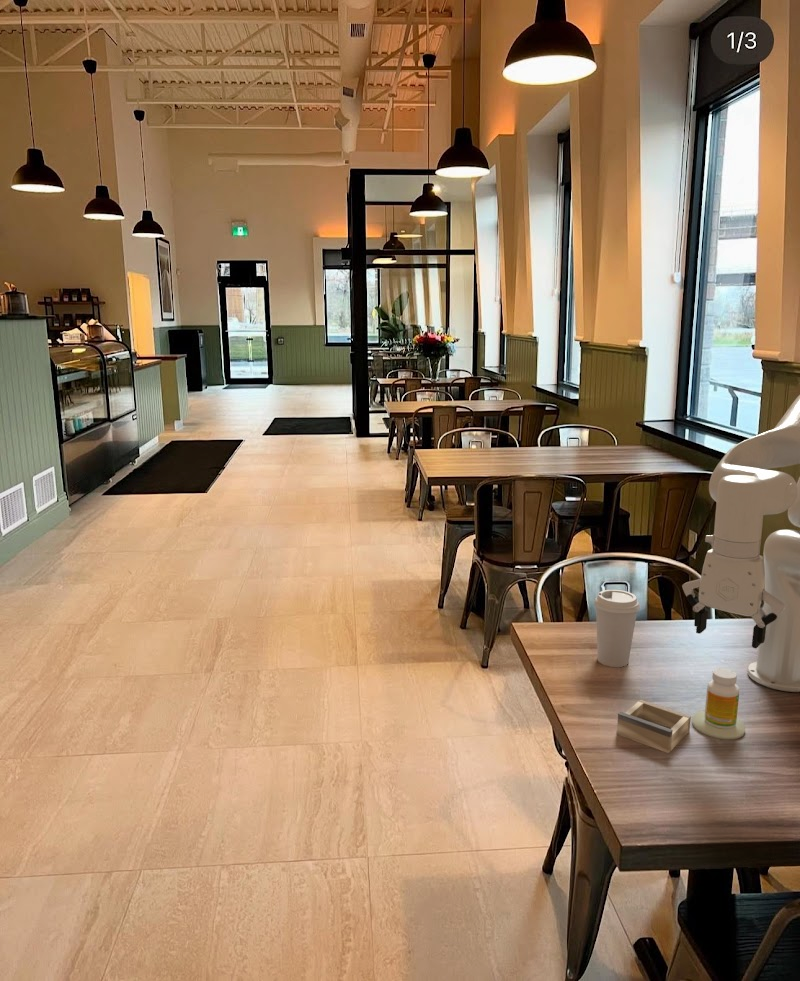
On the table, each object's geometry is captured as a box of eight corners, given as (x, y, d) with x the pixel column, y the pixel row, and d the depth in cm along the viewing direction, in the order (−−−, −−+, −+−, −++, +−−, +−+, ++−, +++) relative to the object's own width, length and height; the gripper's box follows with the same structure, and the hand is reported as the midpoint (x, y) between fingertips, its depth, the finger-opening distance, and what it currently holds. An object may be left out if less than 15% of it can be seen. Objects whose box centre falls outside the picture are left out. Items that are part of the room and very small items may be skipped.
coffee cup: (601, 647, 173) (605, 585, 170) (642, 659, 167) (647, 594, 164) (582, 662, 166) (586, 596, 163) (624, 674, 160) (629, 607, 157)
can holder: (639, 714, 144) (640, 694, 143) (689, 731, 138) (691, 711, 137) (616, 734, 137) (618, 713, 136) (668, 753, 131) (670, 732, 130)
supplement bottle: (739, 731, 137) (744, 681, 135) (707, 728, 138) (712, 678, 136) (732, 716, 142) (737, 668, 140) (701, 713, 143) (706, 665, 141)
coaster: (702, 709, 146) (702, 705, 146) (751, 725, 140) (752, 721, 140) (684, 727, 140) (684, 723, 139) (735, 745, 134) (735, 740, 134)
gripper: (678, 542, 135) (672, 632, 139) (783, 562, 124) (773, 659, 128) (694, 533, 141) (688, 619, 145) (796, 551, 130) (786, 644, 134)
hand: (728, 638), depth 137 cm, fingers open, 9 cm apart
